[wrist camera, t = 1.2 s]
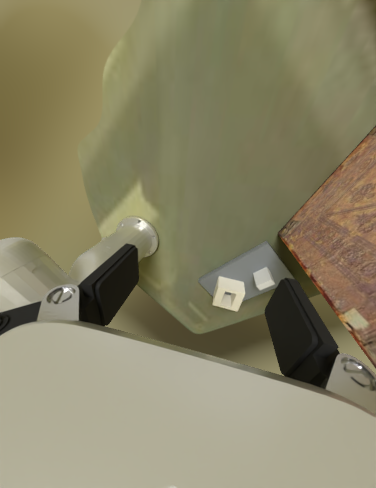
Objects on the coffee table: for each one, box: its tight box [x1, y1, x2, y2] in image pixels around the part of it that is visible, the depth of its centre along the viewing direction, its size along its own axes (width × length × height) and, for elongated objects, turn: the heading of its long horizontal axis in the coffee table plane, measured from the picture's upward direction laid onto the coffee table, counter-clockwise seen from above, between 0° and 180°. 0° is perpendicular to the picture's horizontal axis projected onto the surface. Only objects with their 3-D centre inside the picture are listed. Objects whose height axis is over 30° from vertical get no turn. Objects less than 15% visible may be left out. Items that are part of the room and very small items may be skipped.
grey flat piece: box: [198, 241, 294, 309], centre depth 43 cm, size 22×13×6 cm, turn 132°
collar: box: [213, 276, 245, 312], centre depth 45 cm, size 7×7×4 cm
